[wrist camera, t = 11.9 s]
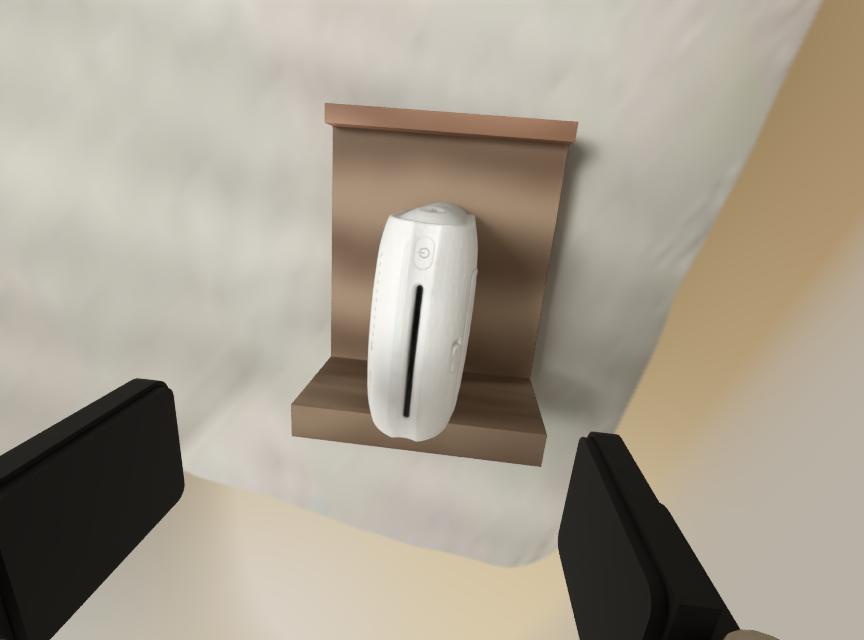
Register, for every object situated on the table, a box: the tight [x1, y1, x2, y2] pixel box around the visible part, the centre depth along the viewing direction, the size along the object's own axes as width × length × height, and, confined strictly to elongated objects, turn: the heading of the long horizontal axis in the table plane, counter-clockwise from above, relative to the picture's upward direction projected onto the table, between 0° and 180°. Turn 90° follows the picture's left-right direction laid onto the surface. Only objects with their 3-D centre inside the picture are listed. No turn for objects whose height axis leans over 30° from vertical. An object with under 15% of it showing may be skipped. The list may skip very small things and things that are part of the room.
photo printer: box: [367, 202, 478, 442], centre depth 22 cm, size 10×4×12 cm, turn 173°
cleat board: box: [291, 103, 578, 467], centre depth 26 cm, size 18×14×10 cm
